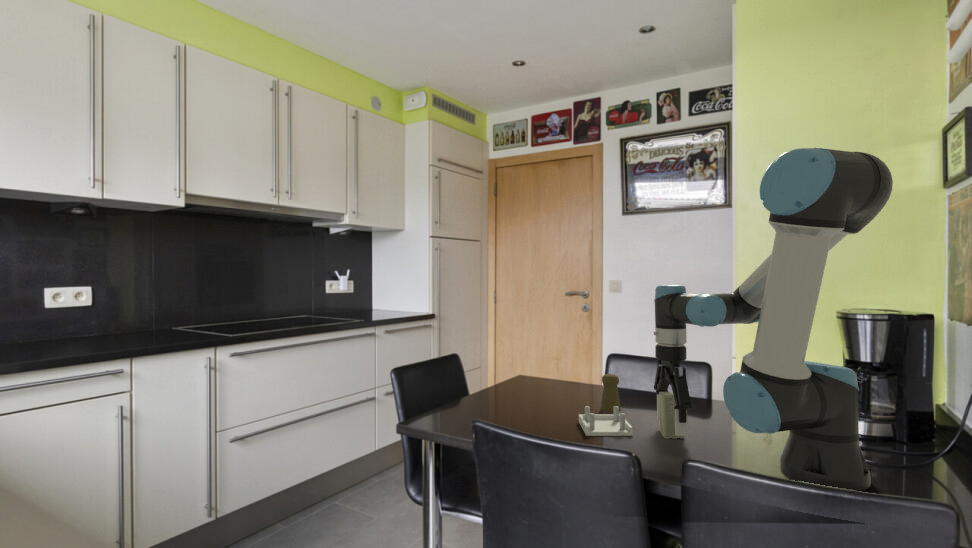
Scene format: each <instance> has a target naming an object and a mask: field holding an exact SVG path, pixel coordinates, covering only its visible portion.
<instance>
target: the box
mask: <svg viewBox="0 0 972 548" xmlns="http://www.w3.org/2000/svg"><path fill="white" fill-rule="evenodd" d="M659 404H660V419H659V426H660V427H659V430H660V431H659V432H660V435H661V436H662V437H663V438H664V439H669V438H672V439H677V438H680V439H685V436H676V435H675V409H674V406H676V403H675V399H674V395H673V391H668V392H659Z"/></svg>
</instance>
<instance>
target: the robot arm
mask: <svg viewBox="0 0 972 548" xmlns="http://www.w3.org/2000/svg"><path fill="white" fill-rule="evenodd" d="M893 182H894V181H893V176H892V172H891V170H890V169H889V167H888V165H887V164H886V163H885V162H884V161H883V160H882V159H880V158H879V157H877V156H875V155H874V154H872V153H871V154H870V153H867V152H863V151H848V150H838V149H830V148H822V147H812V148H811V147H810V148H809V147H807V148H805V147H804V148H801V147H799V148H794V149H791V150H789V151H786V152H783V153H782V154H780V155H779V156H778V158H777V159H775V160H774V161H772V162H771V163H770V165H769V166H768V167H767V168H766V170H765V172H764V174H763V176H762V177H761V180H760V184H759V198H760V200H761V201H762V205H763V207H764V208H765V209H766V210H767V211H769V218H768V223H769V225H770V226H771V227H772V228H773V229H774V231H775V235H774V240H773V246H772V251H771V253H770V254H769V255H768V257H767V258H766V259H764V261H762V262H761V264H760V265H759V266H757V267H756V268H755V269H754V271H753V272H752V273H750V274H749V276H748V277H747V278H746V279H745V280H744V281H743V282H742V283H741V284H740V285H739V286H738V287H736V289H735V290H734V291H732V292H727V293H726V292H722V293H687V289H686V286H685V285H683V284H659V285H657V286H656V287H655V290H654V291H655V293H654V295H655V296H654V300H653V301H654V302H653V303H654V321H655V323H654V325H655V330H654V331H653V335H654V336H655V343H656V345H655V347H654V350H655V357H654V358H656V360H657V364H656V365H657V366H656V373H655V377H654V384H653V389H654V390H655V393H656V419H657V420H660V404H659V392H669V390H668V389H669V386H670V387H671V392H673V395H674V399H675V403H676V406H674V409H675V435H676V436H684V437H685V436H687V437H688V410H689V409H692V401H691V396H690V391H689V385H688V380H687V369H686V367H684V366H683V367H681V364H680V363H681V362H684V361H686V360H687V346H686V344H687V342H688V341H687V334H688V332H687V325H694V326H699V327H702V328H703V327H706V328H707V327H708V328H709V327H710V328H712V327H713V328H714V327H717V326H718V325H734V324H738V325H739V324H745V325H750V324H751V325H752V324H754V323H757V329H756V333H755V339H754V344H753V349H752V351H751V352H748V353H747V354H744V355H743V357H742V360H741V365H740V371H739V372H737V371H736V372H733V373H732V374H731V375H729V376H728V377H727V378H726V379H725V380H724V384H723V387H722V388H723V389H722V392H723V393H722V394H723V400H724V404H725V406H726V409H727V410H728V411H729V415H730V416H731V417H732V419H733V420H734V422H736V424H738V426H740V428H743V429H744V430H746V431H747V432H750V433H754V434H769V435H770V434H775V433H779V432H786V431H789V434H788V437H787V439H786V443H785V444H784V447H783V450H782V453H781V455H780V457H779V458H780V460H779V461H780V462H779V464H780V465H779V466H780V467H779V468H780V470H781V472H782V473H783V474H784V475H786V476H787V477H789V478H790V479H793V480H795V481H797V480H799V481H804V482H809V483H814V484H820V485H825V486H832V487H838V488H846V489H853V490H860V491H859V492H862V491H865V490H868V489H870V487H871V486H872V481H871V480H872V479H871V476H872V475H871V471H870V469H869V466H868V464H867V461H866V458H865V456H864V453H863V451H862V449H861V446H860V441H859V437H860V435H859V433H860V432H859V431H860V430H859V391H860V388H859V387H860V386H859V384H858V375H857V373H856V372H855V371H854V370H853V369H852V368H848V367H846V366H845V367H844V366H840V365H834V364H829V363H828V364H827V363H822V362H814V361H807V360H806V361H805V359H806V355H807V351H808V346H809V341H810V337H811V333H812V327H813V324H814V319H815V314H816V308H817V305H818V299H819V296H820V295H819V294H820V291H821V287H822V283H823V278H824V273H825V267H826V264H827V259H828V255H829V251H831V250H832V249H833V248H834V247H835V246H836V245H838V244H839V243H840V241H842V240H843V239H844V238H845V237H846V236H848V235H856V234H858V233H860V232H861V231H862V230H863V229H864V228H865V227H866V226H867V225H869V224H870V223H871V222H872V221H873V220H874V219H875V218H876V217H877V216H878V215H879V213H881V211H882V210H883V208H884V207H885V206H886V204H887V203H888V201H889V199H890V197H891V194H892V192H893ZM799 481H798V482H799Z"/></svg>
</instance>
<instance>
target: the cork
mask: <svg viewBox="0 0 972 548" xmlns="http://www.w3.org/2000/svg"><path fill="white" fill-rule="evenodd" d="M601 383H602V385H603V389H602V396H601V403H600V404H601V405H600V410H601V411H602V412H604V413H611V414H614V413H613V407H614V406H618V407H619V413H621V411H622V409H621V403H620V394H619V389H618V385H619V383H620V379H619V376H618V375H617V374H613V373H607V374H603V375H602V377H601Z"/></svg>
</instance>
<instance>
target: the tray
mask: <svg viewBox="0 0 972 548" xmlns="http://www.w3.org/2000/svg"><path fill="white" fill-rule="evenodd" d="M590 409H591V407H590V406H589V405H586V406H584V413H583V414H581V413H579V414H578V423H579V425H580V427H581V428H582V430H583V433H584V434H585V436H586V437H633V436H634V434H633V432H634V431H633V430H634V427H633V426H632V425H631V424H630V423H629V422H628V421H627V419H626V414H625V413H624V412H622V413H621V412H619V407H618V406H614V407H613V413H611V414H608V413H607V414H606V413H605V414H601V413H600V414H599V413H598V414H595V413H593V412H591V410H590Z"/></svg>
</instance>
